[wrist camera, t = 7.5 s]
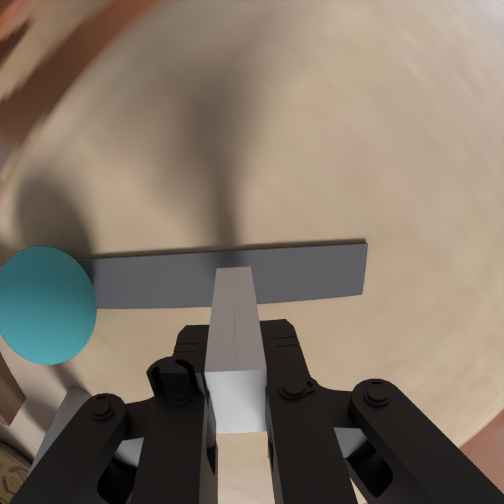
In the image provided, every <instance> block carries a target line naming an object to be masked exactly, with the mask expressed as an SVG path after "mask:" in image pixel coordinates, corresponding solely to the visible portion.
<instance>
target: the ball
mask: <svg viewBox="0 0 504 504" xmlns="http://www.w3.org/2000/svg"><path fill="white" fill-rule="evenodd" d="M96 313H97V308H96V298H95V293H94V289H93V286H92V284H91V281H90V279H89V277H88V276H87V274H86V272H85V271H84V269H83V268H82V267H81V265H80V264H79V263H78V262H77V261H76V260H75V259H73V258H72V257H71V256H70V255H68V254H66V253H65V252H63V251H61V250H58V249H56V248H52V247H47V246H34V247H29V248H26V249H23V250H21V251H19V252H17V253H16V254H14V255H13V256H12V257H10V258H9V259H8V260H7V261H6V263H5V264H4V265H3V267H2V268H1V270H0V334H1V336H2V338H3V339H4V341H5V342H6V343H7V345H8V346H9V347H10V348H11V349H12V350H13V351H14V352H15V353H17V354H18V355H20V356H21V357H23V358H24V359H26V360H28V361H31V362H34V363H37V364H44V365H52V364H58V363H62V362H65V361H67V360H69V359H71V358H72V357H74V356H76V355H77V354H78V353H79V352H80V351H81V350H82V349H83V348H84V347H85V345H86V344H87V342H88V341H89V339H90V337H91V335H92V332H93V329H94V326H95V321H96Z"/></svg>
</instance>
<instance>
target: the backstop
mask: <svg viewBox="0 0 504 504" xmlns="http://www.w3.org/2000/svg"><path fill="white" fill-rule="evenodd" d="M25 399H26V397H25V396H24V394H23V393H22V391H21V389H20V388H19V386H18V384H17V383H16V381H15V379H14V378H13V376H12V374H11V372H10V370H9V369H8V367H7V365H6V363H5V361H4V359H3V357H2V355H1V353H0V422H1V423H3V424H6V425H8V426H10V424H11V423H12V421H13V419H14V418H15V416H16V414H17V413H18V411H19V409H20V408H21V406H22V404H23V403H24V401H25Z"/></svg>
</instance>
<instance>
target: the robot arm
mask: <svg viewBox="0 0 504 504" xmlns="http://www.w3.org/2000/svg"><path fill="white" fill-rule="evenodd" d="M146 373H147V376H148V379H149V382H150V385H151V387H152V390H153V393H154V397H152V398H150V399H147V400H144V401H139V402H134V403H128V404H125V403H124V402H123V401H122V399H121V398H120V397H118V396H116V395H114V394H108V393H103V394H97V395H95V396H93V397H90V398H89V399H88V400H87V401H86V402H84V403H83V405H82V406H81V407H80V408H79V410H78V411H77V412H76V413H75V415H74V416H73V417H72V419H71V420H70V421H69V422H68V424H67V425H66V426H65V428H64V429H63V430H62V431H61V433H60V434H59V435H58V437H57V438H56V439H55V441H54V442H53V443H52V445H51V446H50V447H49V449H48V450H47V451H46V453H45V454H44V455H43V457H42V458H41V459H40V461H39V462H38V463H37V465H36V466H35V467H34V469H33V470H32V471H31V473H30V474H29V476H28V477H27V478H26V480H25V481H24V483H23V484H22V485H21V487H20V488H19V490H18V491H17V492H16V494H15V495H14V497H13V498H12V500H11V501H10V502H9V504H218V447H217V443H216V430H217V434H221V433H247V432H262V431H267V434H268V458H269V459H270V467H271V475H272V483H273V491H274V499H275V504H358V502H357V498H356V495H355V492H354V489H353V486H352V483H351V479H352V481H353V482H354V484H355V485H356V487H357V488H358V489H359V491H360V492H361V494H362V495H363V497H364V498H365V500H366V501H367V502H368V504H504V494H503V493H502V492H501V491H500V490H499V489H498V488H497V487H496V486H495V485H494V484H493V483H492V482H491V481H490V480H489V479H488V478H487V477H486V476H485V475H484V474H483V473H482V472H481V471H480V470H479V469H478V468H477V467H476V466H475V465H474V464H473V463H472V462H471V461H470V460H469V459H468V458H467V457H466V456H465V455H464V454H463V453H462V452H461V451H460V450H459V449H458V448H457V447H456V446H455V445H454V444H453V443H452V442H451V441H450V440H449V439H448V438H447V437H446V436H445V435H444V434H443V432H442V431H441V430H440V429H439V428H438V427H437V426H436V425H435V424H434V423H433V422H432V421H430V420H429V419H428V418H427V417H426V416H425V415H424V414H423V413H422V412H421V411H420V410H419V409H418V408H417V407H416V406H415V405H414V404H413V403H412V402H411V401H410V400H409V399H408V398H407V397H406V396H405V395H404V394H403V393H402V392H401V391H400V390H399V389H398V388H397V387H396V386H395V385H393V384H392V383H391V382H389V381H386V380H382V379H368V380H364V381H362V382H360V383H359V384H357V385H356V386H355V388H354V389H353V391H339V390H331V389H327V388H324V387H322V386H320V385H319V384H318V383H317V381H316V380H314V379H313V378H311V376H310V374H309V371H308V368H307V365H306V362H305V359H304V356H303V353H302V350H301V347H300V345H299V341H298V338H297V335H296V332H295V329H294V326H293V325H292V324H290V323H289V322H288V321H287V320H286V319H279V320H266V321H259V316H258V310H257V303H256V297H255V290H254V284H253V277H252V270H251V266H250V267H233V268H217V270H216V278H215V285H214V293H213V301H212V309H211V317H210V325H186V326H185V327H184V328H183V329H182V330H181V331H180V333H179V334H178V337H177V341H176V345H175V348H174V353H173V356H170V357H165V358H162V359H160V360H157V361H156V362H155V363H153V364H152V365H151V366H150V367H149V369H148V370H147V372H146ZM350 478H351V479H350Z"/></svg>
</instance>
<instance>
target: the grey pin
mask: <svg viewBox="0 0 504 504" xmlns="http://www.w3.org/2000/svg"><path fill="white" fill-rule="evenodd" d="M90 397H91V395H90V394H88V393H87V392H86V391H84V390H82V389H80V388H77V387H71V388H70V389H69V391H68V392H67V394H66V396H65V398H64V400H63V402H62V404H61V405H60V407H59V409H58V411H57V413H56V415H55V417H54V419H53V421H52V423H51V425H50V427H49V429H48V431H47V433H46V435H45V437H44V439H43V442H42V444H41V446H40V448H39V450H38V452H37V455H36V457H35V459H34V461H33V464H32V466H31V468H30V471H29V473H28V475H27V476H29V474H30V473H31V471H32V470H33V469H34V467H35V466H36V465H37V463H38V462H39V461H40V459H41V458H42V457H43V455H44V454H45V453H46V451H47V450H48V449H49V447H50V446H51V445H52V443H53V442H54V441H55V439H56V438H57V437H58V435H59V434H60V433H61V431H62V430H63V429H64V428H65V426H66V425H67V424H68V422H69V421H70V420H71V419H72V417H73V416H74V415H75V413H76V412H77V411H78V410H79V408H80V407H81V406H82V405H83V403H84V402H86V401H87V400H88V399H89V398H90Z"/></svg>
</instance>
